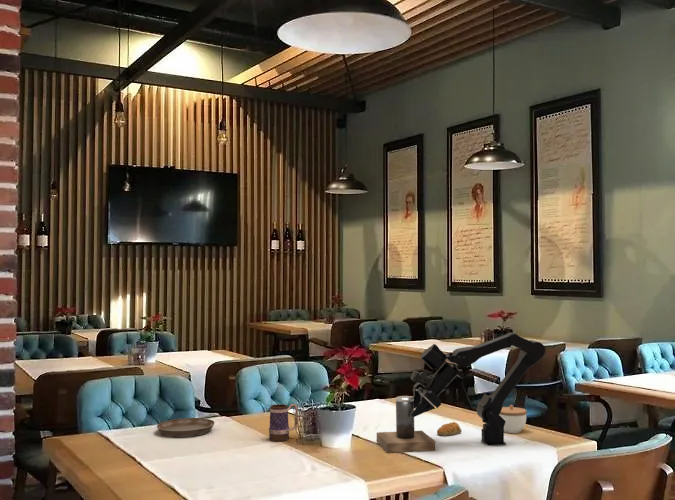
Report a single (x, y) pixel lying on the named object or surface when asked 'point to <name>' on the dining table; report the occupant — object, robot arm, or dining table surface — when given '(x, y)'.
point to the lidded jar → (513, 419)
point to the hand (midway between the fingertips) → (409, 413)
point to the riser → (405, 442)
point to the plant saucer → (185, 427)
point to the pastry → (449, 429)
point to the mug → (280, 422)
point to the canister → (404, 417)
